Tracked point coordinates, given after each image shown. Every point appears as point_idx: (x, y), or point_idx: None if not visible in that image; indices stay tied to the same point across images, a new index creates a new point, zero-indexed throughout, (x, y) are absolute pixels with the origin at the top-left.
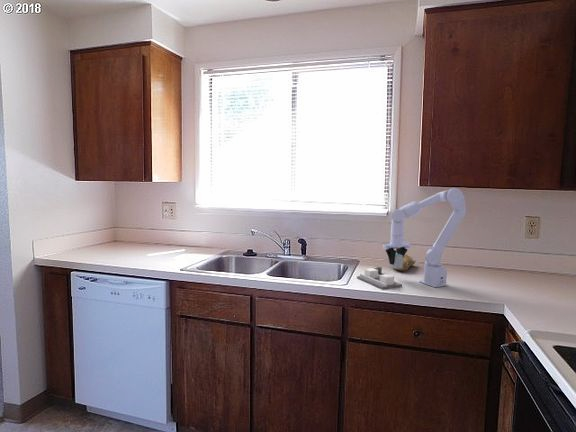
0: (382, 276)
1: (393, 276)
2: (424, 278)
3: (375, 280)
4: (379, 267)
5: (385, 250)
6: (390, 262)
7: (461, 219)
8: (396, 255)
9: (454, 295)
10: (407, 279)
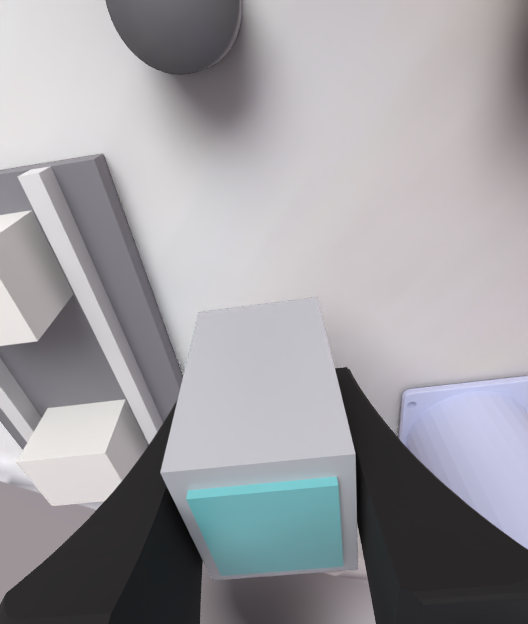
0: (33, 477)
1: None
2: (421, 450)
3: (4, 411)
4: (195, 8)
5: (12, 589)
6: None
7: None
8: (235, 568)
9: None
10: (370, 321)
